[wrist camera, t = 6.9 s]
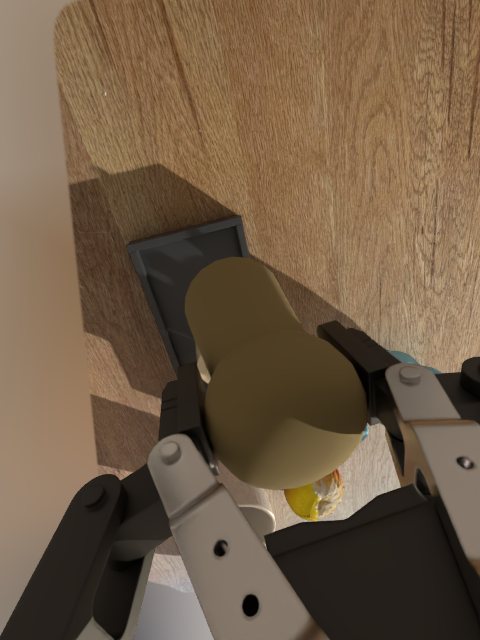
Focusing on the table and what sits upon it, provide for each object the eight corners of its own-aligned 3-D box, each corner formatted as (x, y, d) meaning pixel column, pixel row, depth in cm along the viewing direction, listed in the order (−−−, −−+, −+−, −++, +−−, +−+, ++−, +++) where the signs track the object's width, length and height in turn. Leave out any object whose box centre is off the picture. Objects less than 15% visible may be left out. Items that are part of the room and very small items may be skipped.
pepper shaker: (266, 354, 20) (353, 519, 10) (175, 342, 18) (174, 525, 8) (295, 268, 18) (441, 371, 8) (195, 245, 16) (224, 338, 6)
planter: (244, 429, 48) (260, 491, 38) (266, 474, 53) (285, 539, 43) (172, 458, 47) (171, 529, 38) (202, 501, 53) (207, 573, 43)
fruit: (324, 499, 59) (332, 541, 51) (275, 482, 58) (275, 521, 51) (350, 459, 55) (362, 498, 47) (297, 441, 54) (301, 477, 47)
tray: (129, 241, 33) (125, 245, 31) (237, 214, 34) (241, 216, 32) (193, 410, 44) (194, 421, 42) (273, 386, 45) (278, 395, 43)
